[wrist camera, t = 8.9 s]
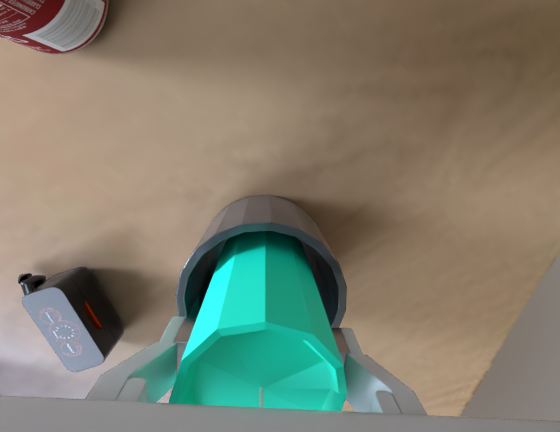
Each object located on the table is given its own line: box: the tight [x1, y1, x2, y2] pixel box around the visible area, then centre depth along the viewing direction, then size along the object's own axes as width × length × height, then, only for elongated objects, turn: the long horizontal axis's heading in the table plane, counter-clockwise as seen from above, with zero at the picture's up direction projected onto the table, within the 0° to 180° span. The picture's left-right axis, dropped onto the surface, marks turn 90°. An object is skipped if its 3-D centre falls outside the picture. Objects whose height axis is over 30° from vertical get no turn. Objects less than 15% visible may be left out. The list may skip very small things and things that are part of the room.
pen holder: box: [176, 195, 347, 328], centre depth 18 cm, size 9×9×6 cm
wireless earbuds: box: [18, 267, 124, 372], centre depth 20 cm, size 5×7×3 cm, turn 18°
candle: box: [169, 231, 347, 411], centre depth 14 cm, size 6×6×12 cm
